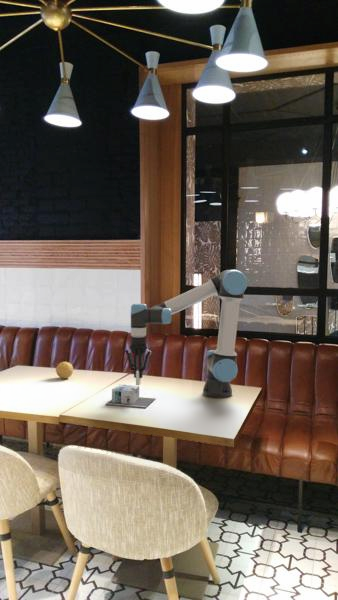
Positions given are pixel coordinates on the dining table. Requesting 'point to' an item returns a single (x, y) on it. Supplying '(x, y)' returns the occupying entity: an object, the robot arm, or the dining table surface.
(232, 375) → the robot arm
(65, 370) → the stress ball
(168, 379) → the dining table surface
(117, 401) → the light bulb box
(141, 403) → the mat
